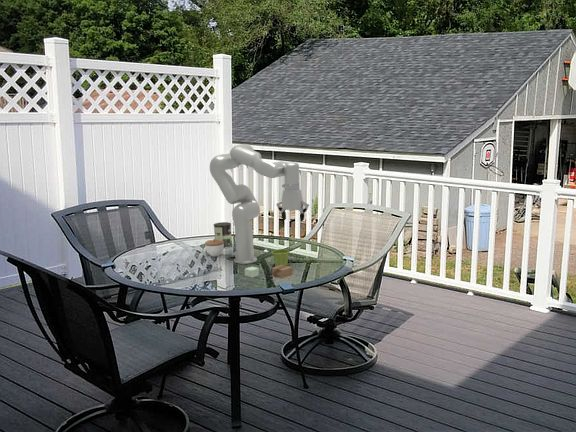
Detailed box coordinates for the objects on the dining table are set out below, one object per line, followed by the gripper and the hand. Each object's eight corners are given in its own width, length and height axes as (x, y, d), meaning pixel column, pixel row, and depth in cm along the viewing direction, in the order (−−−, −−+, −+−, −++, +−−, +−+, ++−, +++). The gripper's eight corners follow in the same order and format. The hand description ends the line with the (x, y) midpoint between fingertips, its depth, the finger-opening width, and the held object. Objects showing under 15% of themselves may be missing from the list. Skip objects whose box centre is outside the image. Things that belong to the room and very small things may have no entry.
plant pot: (284, 271, 307) (283, 254, 305) (268, 268, 312) (268, 252, 310) (293, 266, 314) (293, 250, 313) (278, 264, 319) (277, 248, 318)
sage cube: (244, 278, 296) (244, 268, 295) (252, 276, 300) (251, 266, 299) (252, 280, 293) (251, 270, 292) (259, 277, 297) (258, 268, 296)
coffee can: (233, 244, 368) (231, 221, 365) (231, 248, 357) (230, 225, 355) (216, 245, 368) (214, 222, 365) (214, 249, 358) (212, 225, 355)
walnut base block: (272, 275, 295) (271, 267, 294) (282, 272, 300) (281, 264, 299) (282, 278, 290) (282, 270, 289) (292, 274, 295) (292, 266, 294)
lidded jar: (221, 251, 351) (220, 236, 349) (227, 255, 341) (226, 239, 339) (203, 254, 346) (202, 238, 344) (209, 258, 337) (208, 242, 335)
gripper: (273, 187, 304) (274, 221, 307) (305, 188, 298) (306, 222, 301) (279, 185, 311) (280, 218, 314) (310, 186, 305) (311, 219, 308)
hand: (293, 220), depth 308 cm, fingers open, 9 cm apart
